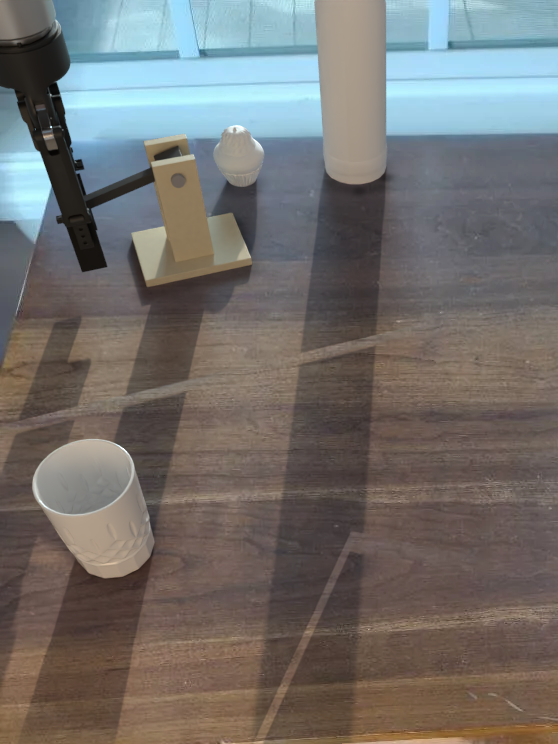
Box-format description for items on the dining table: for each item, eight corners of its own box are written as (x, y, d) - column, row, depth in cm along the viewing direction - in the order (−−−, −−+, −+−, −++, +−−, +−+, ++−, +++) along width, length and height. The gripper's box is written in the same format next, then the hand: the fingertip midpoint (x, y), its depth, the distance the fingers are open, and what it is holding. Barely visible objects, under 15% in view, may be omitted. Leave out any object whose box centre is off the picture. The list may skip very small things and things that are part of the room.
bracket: (147, 289, 96) (117, 185, 85) (133, 241, 101) (103, 137, 90) (252, 266, 98) (236, 162, 88) (233, 220, 103) (216, 117, 93)
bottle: (387, 151, 112) (387, -127, 87) (387, 187, 107) (387, -96, 83) (325, 150, 112) (307, -129, 87) (323, 186, 107) (303, -97, 82)
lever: (79, 236, 90) (67, 217, 88) (71, 203, 93) (59, 184, 91) (195, 186, 90) (186, 166, 88) (183, 155, 93) (174, 135, 91)
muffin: (258, 199, 106) (250, 145, 100) (210, 191, 106) (200, 137, 101) (274, 170, 109) (267, 116, 103) (228, 163, 110) (219, 109, 104)
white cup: (53, 570, 75) (11, 500, 67) (99, 501, 79) (66, 428, 71) (134, 595, 74) (102, 528, 65) (177, 524, 78) (152, 453, 70)
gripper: (74, 72, 71) (139, 296, 90) (45, -28, 81) (109, 193, 100) (-21, 87, 70) (66, 311, 89) (-39, -17, 80) (43, 205, 99)
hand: (89, 248), depth 94 cm, fingers closed on lever, 6 cm apart
